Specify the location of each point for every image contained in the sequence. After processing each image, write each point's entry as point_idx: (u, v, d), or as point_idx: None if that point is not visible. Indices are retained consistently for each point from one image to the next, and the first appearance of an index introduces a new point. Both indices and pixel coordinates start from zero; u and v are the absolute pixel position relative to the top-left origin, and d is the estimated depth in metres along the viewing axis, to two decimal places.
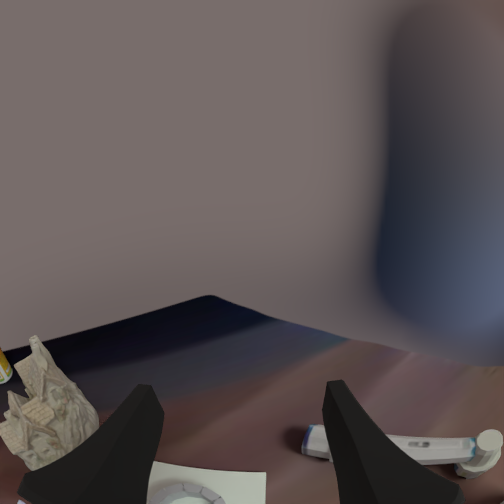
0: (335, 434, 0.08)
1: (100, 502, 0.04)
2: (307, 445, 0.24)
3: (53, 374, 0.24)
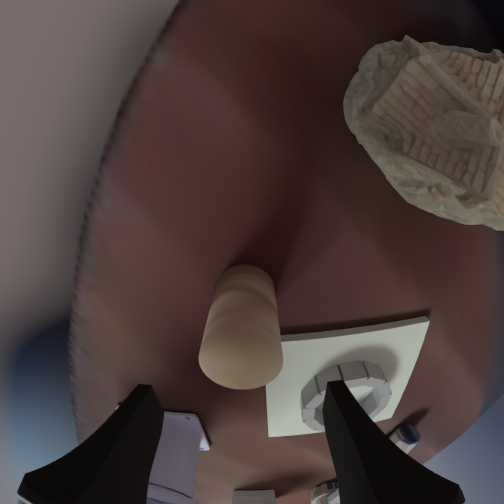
0: (335, 434, 0.08)
1: (100, 502, 0.04)
2: (401, 441, 0.24)
3: None
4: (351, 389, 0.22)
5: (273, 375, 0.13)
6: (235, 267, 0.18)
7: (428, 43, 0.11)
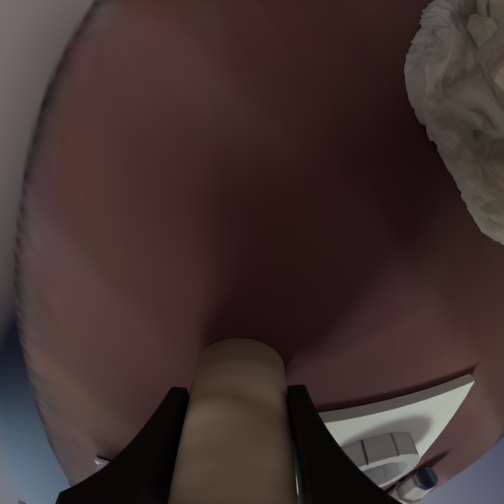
0: (294, 440, 0.08)
1: None
2: (418, 487, 0.17)
3: None
4: None
5: None
6: (224, 344, 0.11)
7: None
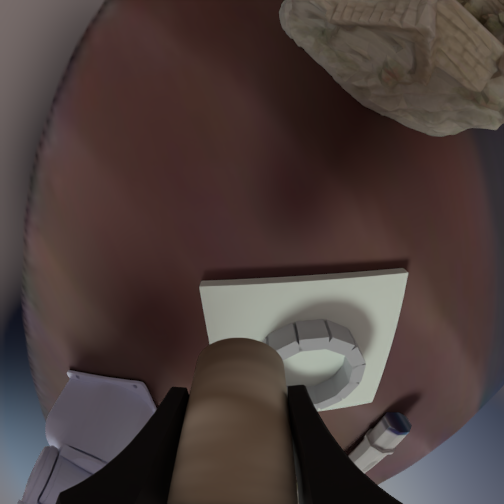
0: (294, 440, 0.08)
1: None
2: (389, 430, 0.22)
3: None
4: (316, 359, 0.20)
5: None
6: (224, 343, 0.11)
7: None
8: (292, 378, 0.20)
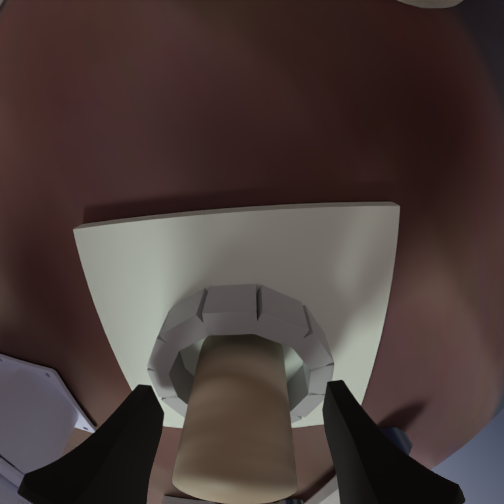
0: (335, 434, 0.08)
1: (100, 502, 0.04)
2: None
3: None
4: None
5: (281, 497, 0.07)
6: None
7: None
8: None
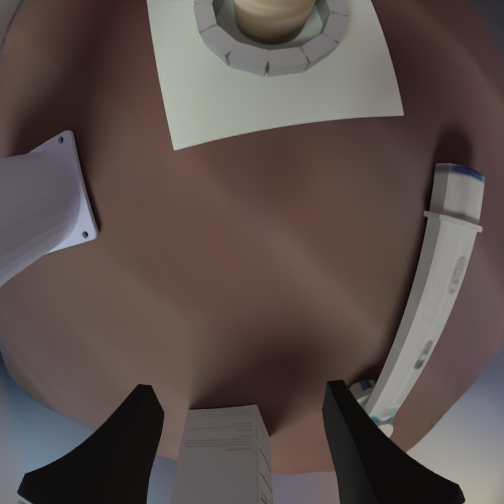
0: (335, 434, 0.08)
1: (100, 502, 0.04)
2: (453, 173, 0.13)
3: None
4: None
5: None
6: None
7: None
8: (258, 44, 0.12)
